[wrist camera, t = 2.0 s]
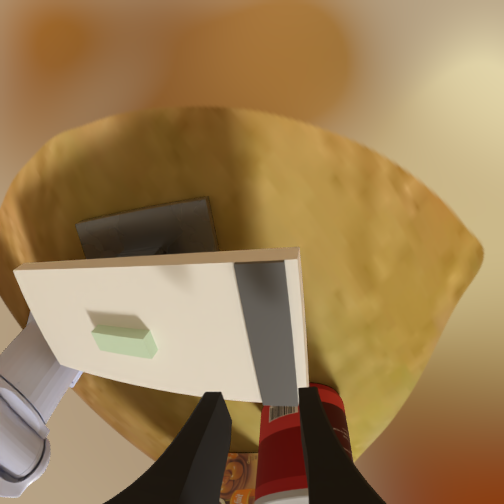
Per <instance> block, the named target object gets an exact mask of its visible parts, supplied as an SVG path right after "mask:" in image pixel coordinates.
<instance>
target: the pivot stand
mask: <svg viewBox="0 0 504 504" xmlns="http://www.w3.org/2000/svg"><path fill="white" fill-rule="evenodd" d="M75 225H76V229H77V232H78V235H79V238H80V241H81V245H82V248H83V251H84V254H85V256H86V259H100V258H117V257H134V256H150V255H167V254H184V253H201V252H219V247H218V242H217V237H216V232H215V227H214V222H213V217H212V212H211V207H210V202H209V197H208V196H207V197H200V198H194V199H188V200H182V201H176V202H171V203H165V204H160V205H154V206H149V207H144V208H139V209H133V210H128V211H124V212H119V213H114V214H109V215H104V216H100V217H95V218H91V219H86V220H82V221H80V222H78V223H76V224H75Z"/></svg>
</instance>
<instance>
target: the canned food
mask: <svg viewBox="0 0 504 504" xmlns="http://www.w3.org/2000/svg"><path fill="white" fill-rule="evenodd" d="M313 386H315V387H317V388H318V392H319V395H320V399H321V402H322V405H323V407H324V410H325V412H326V415H327V417H328V419H329V421H330V423H331V425H332V427H333V429H334V431H335V433H336V435H337V437H338V439H339V441H340V443H341V444H342V446H343V448H344V449H345V451H346V453H347V454H348V456H349V457H350V459H351V461H352V462H353V457H352V451H351V445H350V438H349V432H348V427H347V421H346V415H345V410H344V405H343V401H342V399H341V398H340V396H339V395H338V393H337V392H336V391H335V390H334V389H332V388H330V387H328V386H326V385H322V384H316V383H309V387H313ZM254 504H309V496H308V485H307V477H306V470H305V463H304V456H303V448H302V441H301V427H300V413H299V404H298V407H289V406H266V405H264V407H263V409H262V412H261V425H260V438H259V450H258V462H257V474H256V486H255V500H254Z"/></svg>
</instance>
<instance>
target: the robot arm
mask: <svg viewBox="0 0 504 504" xmlns="http://www.w3.org/2000/svg"><path fill="white" fill-rule="evenodd" d="M82 373H83V372H82V371H79V370H76V369H72V368H69V367H66V366H63V365H60V363H59V362H58V360H57V358H56V357H55V355H54V353H53V352H52V350H51V348H50V347H49V345H48V343H47V341H46V339H45V338H44V336H43V334H42V332H41V330H40V328H39V326H38V325H37V323H36V321H35V319H34V317H33V315H32V313H31V311H30V314H29V318H28V322H27V326H26V327H25V328H24V329H23V330H22V332H21V333H20V334H19V335H18V336H17V337H16V338H15V339H14V340H13V341H12V342H11V343H10V344H9V346H8V347H7V348H6V349H5V350H4V351H3V352H2V354H1V355H0V497H10V498H11V497H12V498H17V497H19V496H20V495H21V493H22V492H23V491H24V490H25V489H26V488H27V486H29V485H30V484H31V483H32V482H34V481H35V480H37V479H38V478H39V477H40V476H41V475H42V474H43V473H44V471H45V470H46V468H47V466H48V463H49V460H50V443H49V440H48V439H47V438H46V437H47V435H48V433H49V432H50V430H49V429H48V428H47V427H46V426H45V424H46V423H47V421H48V420H49V418H50V416H51V415H52V413H53V411H54V410H55V408H56V406H57V405H58V403H59V402H60V400H61V398H62V397H63V395H64V394H65V392H66V390H67V389H68V387H72V388H73V387H74V385H75V384H76V382H77V381H78V379H79V377H80V376H81V374H82ZM298 395H299V413H300V427H301V441H302V448H303V456H304V463H305V470H306V477H307V485H308V496H309V504H386V503H385V502H384V501H383V500H382V498H381V497H380V496H379V495H378V494H377V493H376V492H375V490H374V489H373V488H372V487H371V486H370V485H369V484H368V483H367V481H366V480H365V478H364V477H363V476H362V475H361V473H360V472H359V471H358V469H357V468H356V466H355V465H354V463H353V462H352V461H351V459H350V457H349V456H348V454H347V453H346V451H345V449H344V448H343V446H342V444H341V443H340V441H339V439H338V437H337V435H336V433H335V431H334V429H333V427H332V425H331V423H330V421H329V419H328V417H327V415H326V412H325V410H324V407H323V405H322V402H321V399H320V395H319V392H318V388H317V387H315V386H313V387H303V388H298ZM231 427H232V420H231V417H230V414H229V412H228V409H227V406H226V404H225V401H224V398H223V395H222V392H205V393H204V394H203V396H202V398H201V399H200V401H199V403H198V405H197V406H196V408H195V410H194V411H193V413H192V414H191V416H190V417H189V419H188V421H187V422H186V423H185V425H184V426H183V428H182V429H181V431H180V432H179V434H178V435H177V436H176V438H175V439H174V440H173V442H172V443H171V444H170V445H169V447H168V448H167V449H166V450H165V452H164V453H163V454H162V455H161V456H160V457H159V458H158V460H157V461H156V462H155V463H154V464H153V465H152V466H151V467H150V468H149V469H148V470H147V471H146V472H145V473H144V474H143V475H142V476H140V477H139V478H138V479H137V480H136V481H135V482H134V483H132V484H131V485H130V486H129V487H127V488H126V489H124V490H123V491H122V492H120V493H119V494H117V495H116V496H115V497H113V498H112V499H110V500H109V501H107V502H105V503H103V504H219V500H220V492H221V486H222V481H223V477H224V472H225V467H226V462H227V458H228V453H229V448H230V441H231Z"/></svg>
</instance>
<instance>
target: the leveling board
mask: <svg viewBox="0 0 504 504" xmlns="http://www.w3.org/2000/svg"><path fill="white" fill-rule="evenodd" d="M13 272H14V274H15V277H16V279H17V282H18V284H19V286H20V289H21V291H22V293H23V296H24V298H25V300H26V302H27V304H28V306H29V308H30V311H31V313H32V315H33V317H34V319H35V321H36V323H37V325H38V326H39V328H40V330H41V332H42V334H43V336H44V338H45V339H46V341H47V343H48V345H49V347H50V348H51V350H52V352H53V353H54V355H55V357H56V358H57V360H58V362H59V363H60V365H63V366H66V367H69V368H72V369H76V370H79V371H82V372H86V373H89V374H93V375H96V376H100V377H104V378H108V379H112V380H116V381H120V382H124V383H128V384H133V385H137V386H142V387H147V388H152V389H157V390H162V391H168V392H174V393H180V394H186V395H193V396H200V397H202V396H203V394H204V393H205V392H222V395H223V398H224V399H225V400H235V401H246V402H260V403H263V405H266V406H289V407H298V404H299V395H298V388H303V387H309V375H308V354H307V337H306V321H305V307H304V294H303V282H302V270H301V259H300V248H299V247H288V248H271V249H253V250H236V251H219V252H201V253H184V254H167V255H150V256H134V257H117V258H100V259H84V260H68V261H51V262H35V263H23V264H21V265H20V266H18V267H17V268H15V269H14V270H13Z"/></svg>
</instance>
